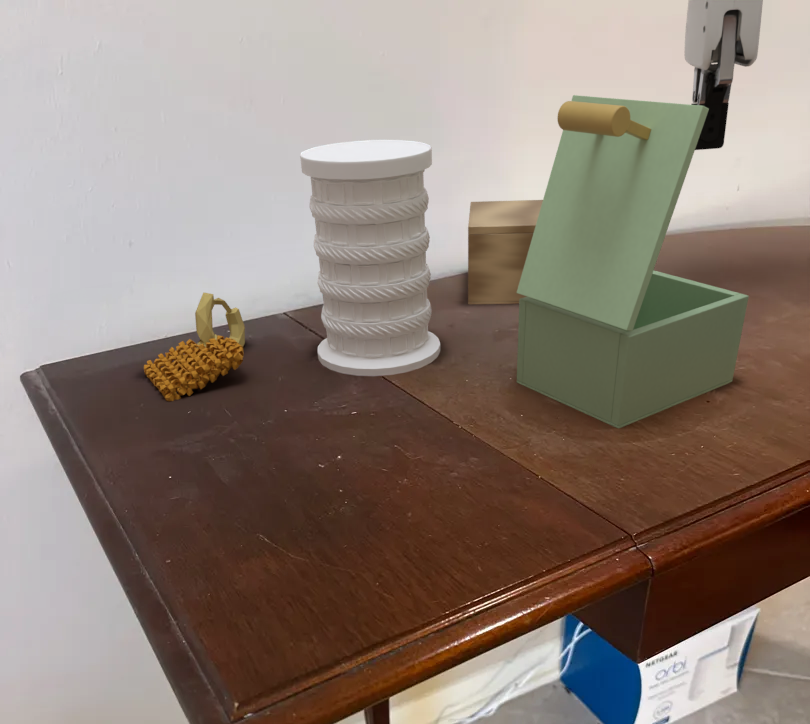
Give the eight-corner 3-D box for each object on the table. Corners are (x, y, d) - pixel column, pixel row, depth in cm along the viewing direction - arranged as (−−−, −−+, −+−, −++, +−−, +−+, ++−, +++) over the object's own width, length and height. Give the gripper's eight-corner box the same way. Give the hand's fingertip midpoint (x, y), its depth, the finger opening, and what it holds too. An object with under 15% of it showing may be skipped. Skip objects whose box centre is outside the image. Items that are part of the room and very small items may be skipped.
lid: (579, 97, 60) (533, 77, 57) (709, 108, 52) (664, 85, 49) (522, 294, 65) (477, 285, 62) (632, 331, 57) (587, 323, 54)
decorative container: (300, 351, 79) (275, 149, 69) (405, 328, 83) (396, 134, 73) (348, 392, 71) (328, 168, 61) (463, 364, 75) (462, 150, 65)
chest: (625, 350, 76) (635, 265, 72) (731, 388, 68) (749, 295, 64) (515, 388, 70) (519, 298, 65) (617, 435, 62) (628, 336, 57)
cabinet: (586, 275, 96) (592, 198, 91) (596, 307, 86) (604, 223, 81) (470, 278, 97) (470, 201, 92) (468, 309, 87) (468, 226, 83)
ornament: (199, 357, 65) (265, 265, 75) (98, 374, 69) (173, 284, 79) (237, 424, 69) (294, 328, 79) (139, 436, 73) (205, 344, 83)
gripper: (801, -92, 65) (764, 157, 75) (752, -79, 77) (725, 134, 87) (704, -82, 66) (680, 163, 76) (670, -70, 78) (654, 139, 88)
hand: (704, 147), depth 82 cm, fingers closed
